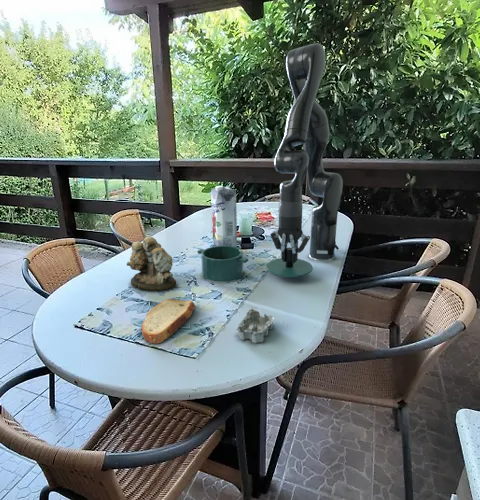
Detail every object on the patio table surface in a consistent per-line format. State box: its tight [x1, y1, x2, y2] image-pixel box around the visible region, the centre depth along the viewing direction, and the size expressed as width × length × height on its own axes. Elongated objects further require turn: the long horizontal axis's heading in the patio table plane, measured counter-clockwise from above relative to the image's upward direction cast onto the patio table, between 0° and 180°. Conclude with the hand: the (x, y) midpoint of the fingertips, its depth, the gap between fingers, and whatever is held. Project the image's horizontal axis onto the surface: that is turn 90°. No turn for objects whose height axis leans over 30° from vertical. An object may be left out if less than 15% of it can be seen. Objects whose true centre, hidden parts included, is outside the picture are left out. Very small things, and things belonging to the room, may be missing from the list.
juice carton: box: [210, 185, 238, 247], centre depth 155 cm, size 9×10×27 cm
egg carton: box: [235, 307, 275, 344], centre depth 96 cm, size 11×8×4 cm
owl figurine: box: [126, 235, 177, 293], centre depth 125 cm, size 18×12×17 cm, turn 69°
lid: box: [265, 246, 314, 278], centre depth 125 cm, size 16×16×8 cm
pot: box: [197, 245, 249, 283], centre depth 131 cm, size 15×20×8 cm
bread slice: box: [141, 298, 196, 345], centre depth 103 cm, size 18×18×4 cm
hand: (289, 261), depth 126 cm, fingers closed on lid, 2 cm apart
